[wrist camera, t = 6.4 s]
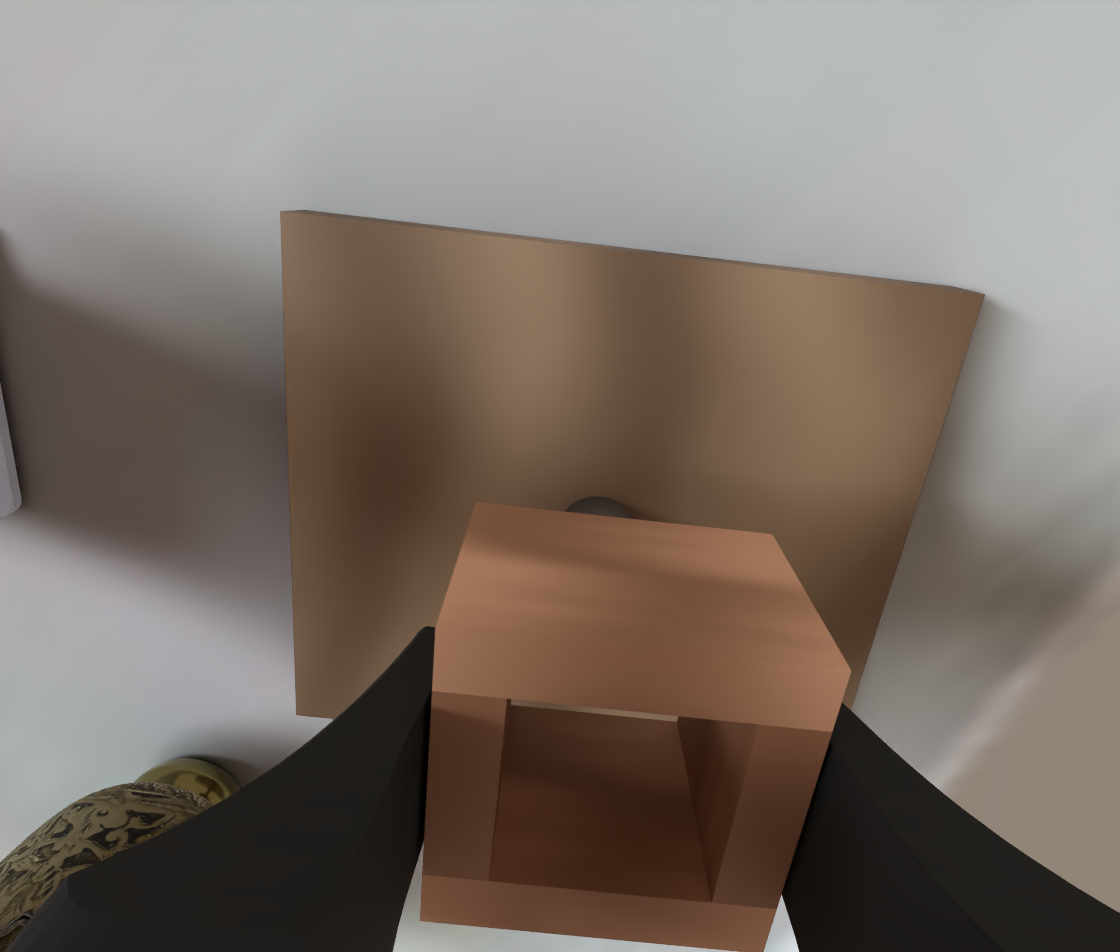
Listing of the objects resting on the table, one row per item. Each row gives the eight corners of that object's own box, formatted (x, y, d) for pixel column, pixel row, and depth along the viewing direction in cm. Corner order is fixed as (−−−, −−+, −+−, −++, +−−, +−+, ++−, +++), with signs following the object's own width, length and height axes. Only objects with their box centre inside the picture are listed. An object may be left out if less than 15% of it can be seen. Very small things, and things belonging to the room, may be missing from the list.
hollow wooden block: (458, 738, 15) (419, 920, 11) (476, 502, 13) (434, 627, 9) (716, 764, 15) (762, 954, 11) (771, 534, 13) (851, 670, 9)
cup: (351, 819, 24) (254, 1092, 17) (193, 897, 26) (41, 1178, 19) (202, 665, 22) (16, 901, 15) (40, 761, 24) (-204, 1018, 16)
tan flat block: (313, 682, 22) (227, 844, 17) (304, 209, 17) (174, 217, 12) (815, 734, 23) (893, 909, 17) (952, 286, 18) (1128, 329, 12)
